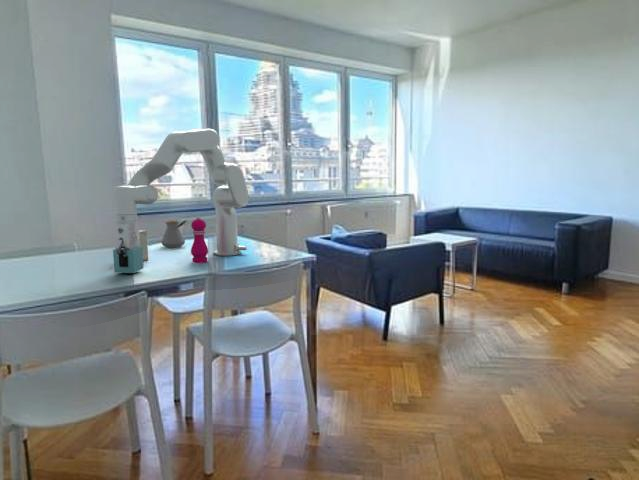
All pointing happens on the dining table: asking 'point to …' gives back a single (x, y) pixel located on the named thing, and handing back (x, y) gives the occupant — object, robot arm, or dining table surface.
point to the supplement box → (144, 243)
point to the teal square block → (129, 260)
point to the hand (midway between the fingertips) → (129, 264)
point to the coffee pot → (173, 235)
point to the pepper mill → (199, 241)
